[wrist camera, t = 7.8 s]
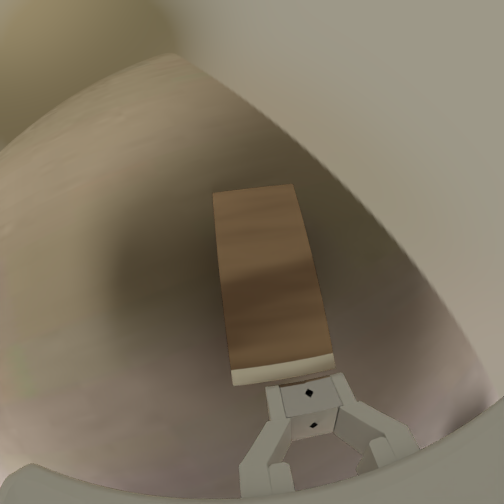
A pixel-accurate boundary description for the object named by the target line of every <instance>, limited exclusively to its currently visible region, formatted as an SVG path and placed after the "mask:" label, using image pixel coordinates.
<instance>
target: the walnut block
mask: <svg viewBox="0 0 504 504" xmlns="http://www.w3.org/2000/svg"><path fill="white" fill-rule="evenodd" d="M212 195H213V208H214V220H215V232H216V243H217V254H218V264H219V274H220V284H221V293H222V302H223V311H224V320H225V328H226V336H227V344H228V352H229V359H230V367H231V374H232V381H233V386H239V385H248V384H255V383H262V382H269V381H275V380H281V379H287V378H293V377H298V376H303V375H308V374H313V373H318V372H322V371H327V370H331V369H335V368H336V366H335V361H334V355H333V350H332V344H331V339H330V334H329V329H328V324H327V319H326V314H325V309H324V305H323V300H322V296H321V291H320V287H319V282H318V278H317V274H316V269H315V265H314V261H313V257H312V253H311V249H310V245H309V241H308V237H307V233H306V229H305V225H304V222H303V218H302V214H301V210H300V207H299V203H298V200H297V196H296V193H295V189H294V186H293V184H284V185H274V186H265V187H256V188H247V189H239V190H231V191H223V192H216V193H212Z"/></svg>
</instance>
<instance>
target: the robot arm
mask: <svg viewBox="0 0 504 504" xmlns="http://www.w3.org/2000/svg"><path fill="white" fill-rule="evenodd" d="M265 391H266V399H267V408H268V416H269V421H267V422H266V424H265V425H264V427H263V429H262V430H261V432H260V434H259V435H258V437H257V439H256V440H255V442H254V443H253V445H252V447H251V448H250V450H249V451H248V453H247V455H246V456H245V458H244V459H243V461H242V462H241V464H240V465H239V478H240V492H241V498H233V499H188V498H173V497H162V496H153V495H146V494H139V493H133V492H127V491H122V490H117V489H112V488H108V487H104V486H100V485H96V484H92V483H88V482H85V481H82V480H78V479H75V478H72V477H69V476H66V475H63V474H60V473H57V472H55V471H52V470H49V469H47V468H45V467H42V466H40V465H37V464H34V463H31V464H28V465H26V466H24V467H22V468H20V469H18V470H17V471H15V472H14V473H12V474H10V475H9V476H8V477H7V478H6V479H5V481H4V482H3V484H2V486H1V488H0V504H504V396H503V397H502V398H501V399H500V400H498V401H497V402H496V403H495V404H493V405H492V406H491V407H489V408H488V409H487V410H485V411H484V412H483V413H481V414H480V415H478V416H477V417H475V418H474V419H473V420H471V421H470V422H468V423H467V424H465V425H463V426H462V427H460V428H459V429H457V430H456V431H454V432H452V433H451V434H449V435H447V436H445V437H444V438H442V439H440V440H438V441H437V442H435V443H433V444H431V445H429V446H427V447H425V448H423V449H421V450H420V448H419V447H418V445H417V443H416V441H415V439H414V437H413V436H412V434H411V432H410V430H409V428H408V427H407V425H405V424H403V423H401V422H399V421H397V420H395V419H393V418H391V417H389V416H387V415H385V414H383V413H382V412H380V411H378V410H376V409H374V408H372V407H371V406H369V405H367V404H365V403H363V402H362V401H359V402H357V401H356V399H355V397H354V395H353V392H352V390H351V388H350V386H349V384H348V382H347V380H346V378H345V376H344V374H343V373H342V372H341V373H337V374H333V375H329V376H323V377H319V378H314V379H310V380H305V381H302V382H296V383H289V384H282V385H276V386H268V387H265ZM332 432H334V434H335V435H337V436H338V437H339V438H340V439H342V440H343V441H344V442H346V443H347V444H348V445H349V446H351V447H352V448H353V449H355V450H356V451H357V452H359V453H360V454H361V455H363V457H362V459H361V460H360V462H359V464H358V466H357V468H356V471H357V474H358V476H355V477H352V478H348V479H345V480H342V481H338V482H334V483H331V484H327V485H323V486H318V487H314V488H310V489H305V490H300V491H295V488H294V483H293V479H292V474H291V470H290V465H289V464H287V463H285V462H282V461H283V459H284V457H285V455H286V453H287V451H288V448H289V446H290V444H291V441H296V440H300V439H305V438H309V437H314V436H319V435H323V434H328V433H332Z"/></svg>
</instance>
